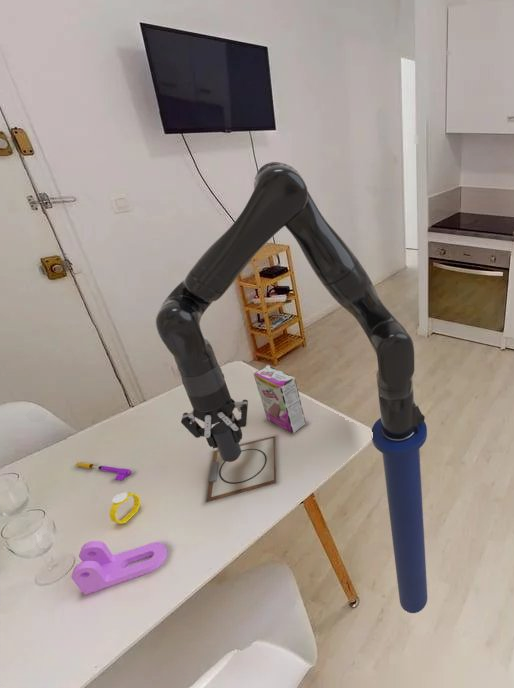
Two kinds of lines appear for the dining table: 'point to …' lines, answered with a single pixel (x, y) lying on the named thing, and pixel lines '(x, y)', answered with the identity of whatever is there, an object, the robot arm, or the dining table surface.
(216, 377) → the robot arm
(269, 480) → the clipboard
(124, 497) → the watch
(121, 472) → the purple pen tool
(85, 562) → the bracket
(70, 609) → the dining table surface
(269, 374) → the candy bar box
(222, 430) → the dark gray cylinder
